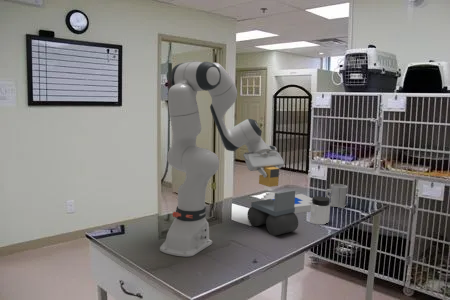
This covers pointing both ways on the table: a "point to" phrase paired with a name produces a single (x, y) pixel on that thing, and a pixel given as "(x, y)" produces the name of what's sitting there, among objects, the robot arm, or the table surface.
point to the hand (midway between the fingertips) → (272, 176)
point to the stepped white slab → (300, 204)
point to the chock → (270, 177)
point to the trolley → (275, 213)
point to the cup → (337, 195)
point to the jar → (320, 210)
